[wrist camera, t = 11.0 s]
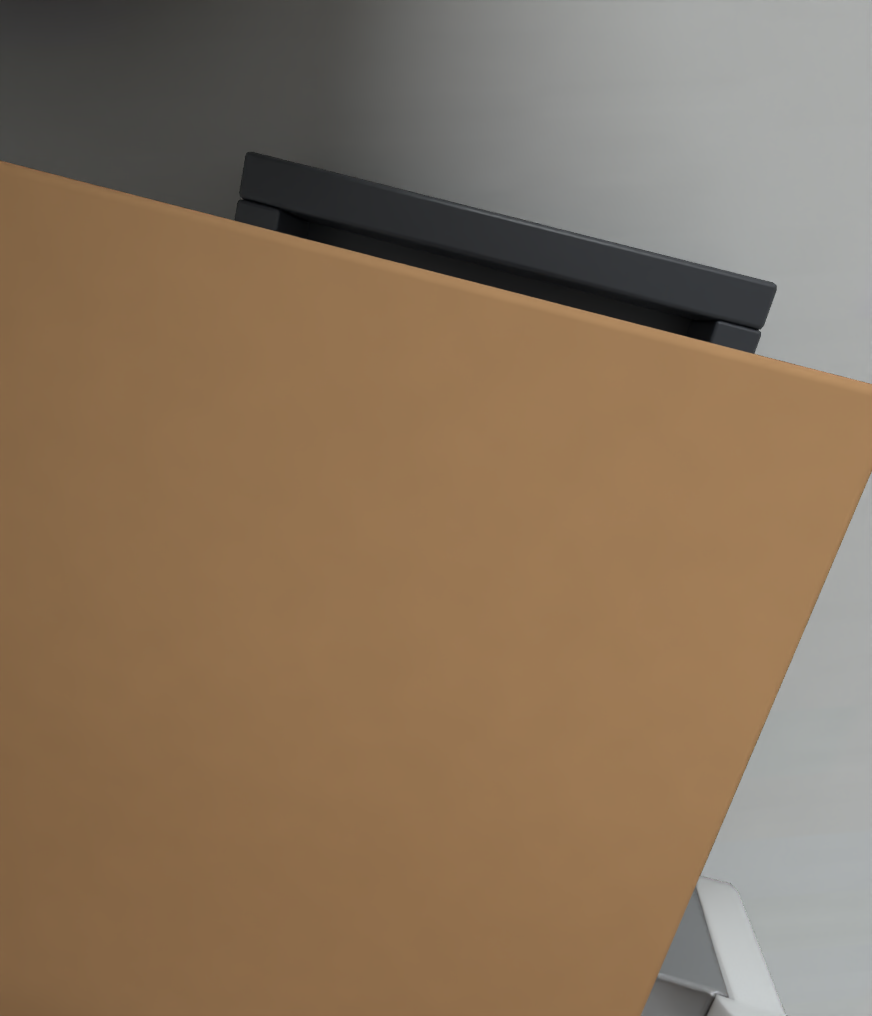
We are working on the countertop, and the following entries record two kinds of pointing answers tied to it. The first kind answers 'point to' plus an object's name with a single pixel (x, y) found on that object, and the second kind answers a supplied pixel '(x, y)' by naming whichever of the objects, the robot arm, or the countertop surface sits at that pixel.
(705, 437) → the pad
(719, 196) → the countertop surface
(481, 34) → the countertop surface
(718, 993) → the robot arm
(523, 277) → the pad base
